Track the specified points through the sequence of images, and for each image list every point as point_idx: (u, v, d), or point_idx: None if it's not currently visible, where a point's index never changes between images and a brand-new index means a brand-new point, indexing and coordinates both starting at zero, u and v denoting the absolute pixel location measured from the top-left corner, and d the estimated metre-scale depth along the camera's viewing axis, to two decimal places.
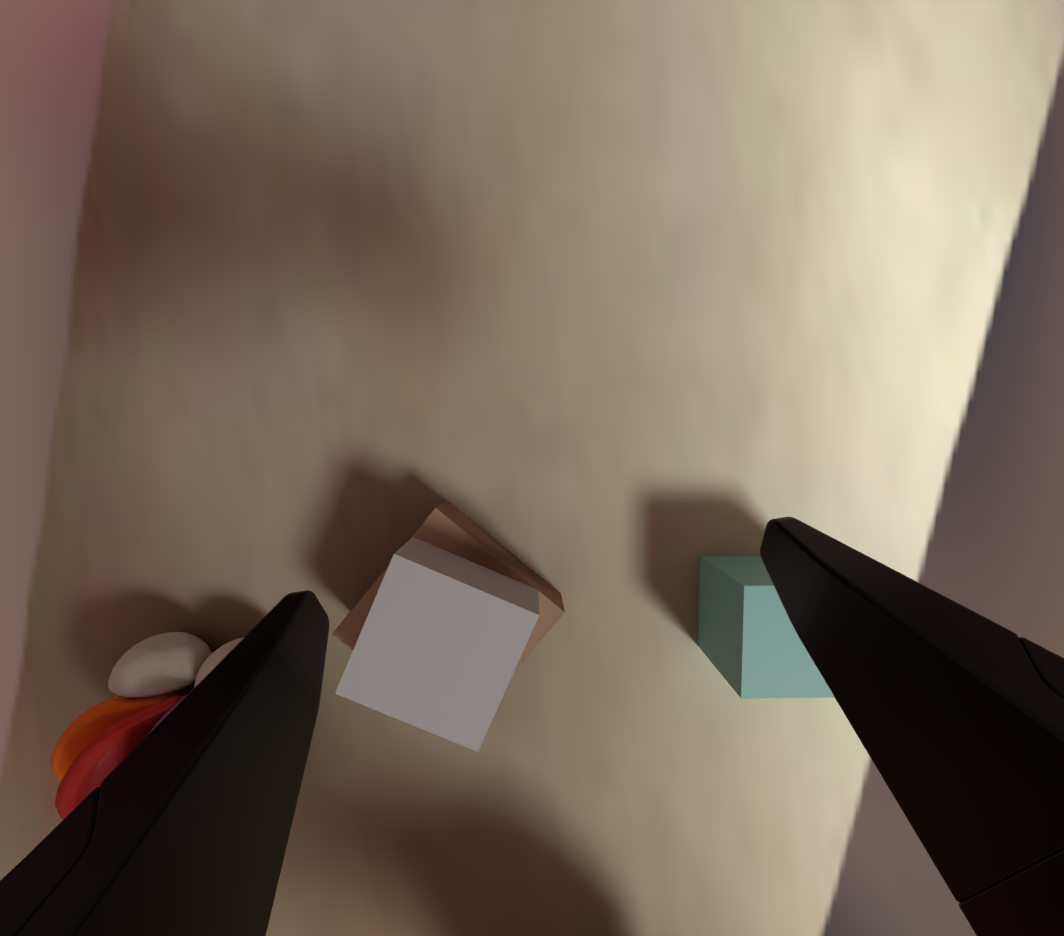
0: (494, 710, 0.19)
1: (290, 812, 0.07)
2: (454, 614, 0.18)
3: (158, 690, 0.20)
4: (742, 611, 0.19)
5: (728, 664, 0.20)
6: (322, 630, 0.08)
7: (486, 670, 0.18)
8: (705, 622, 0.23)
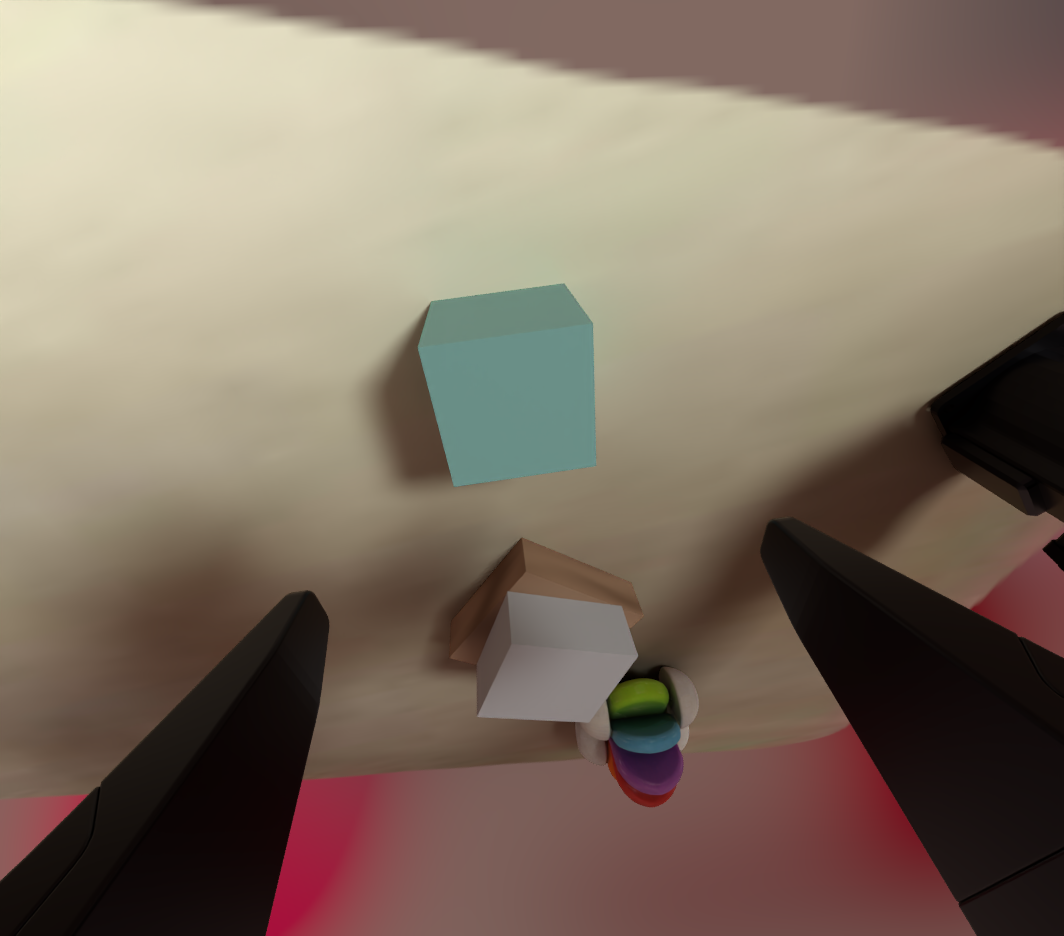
0: (601, 653, 0.21)
1: (290, 812, 0.07)
2: (519, 685, 0.22)
3: (603, 750, 0.32)
4: (487, 480, 0.15)
5: None
6: (322, 630, 0.08)
7: (565, 663, 0.21)
8: None
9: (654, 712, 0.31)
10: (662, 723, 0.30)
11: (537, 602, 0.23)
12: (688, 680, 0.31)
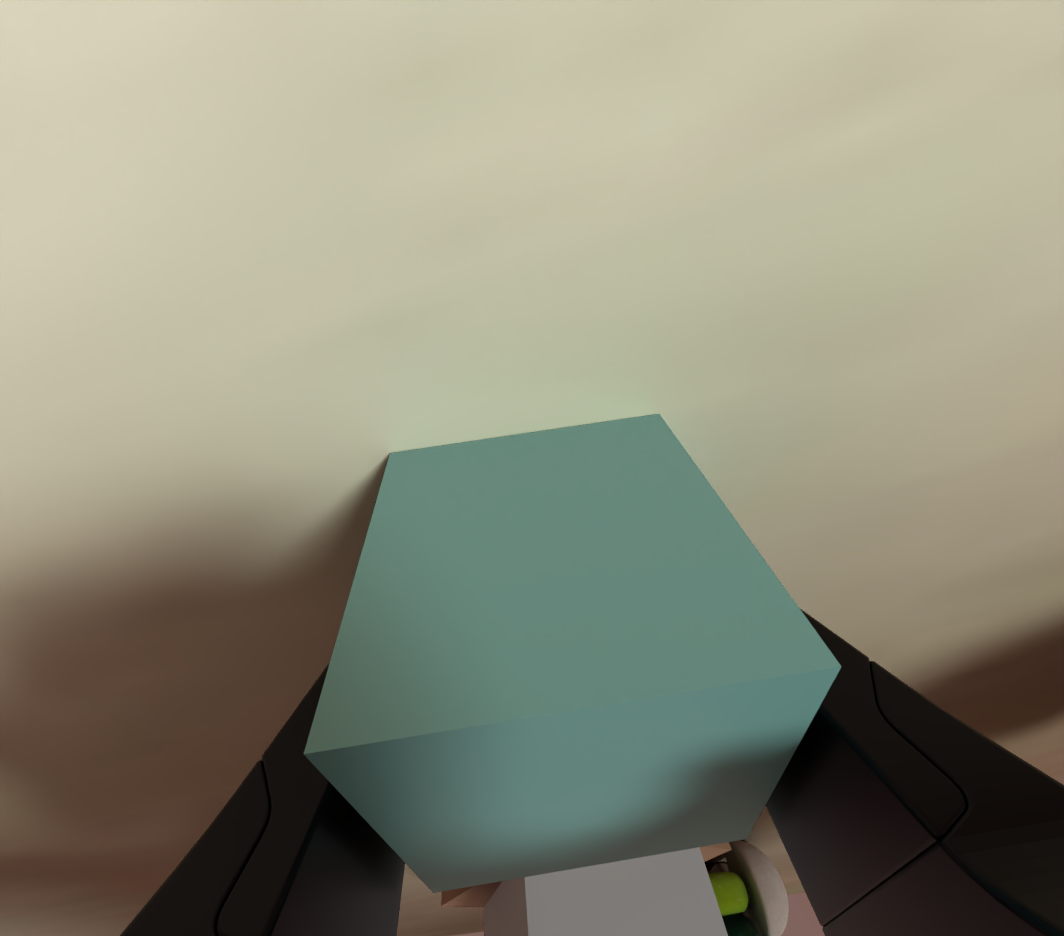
0: None
1: None
2: None
3: None
4: (507, 874, 0.07)
5: None
6: None
7: None
8: None
9: (726, 914, 0.23)
10: None
11: (570, 869, 0.14)
12: (773, 871, 0.23)
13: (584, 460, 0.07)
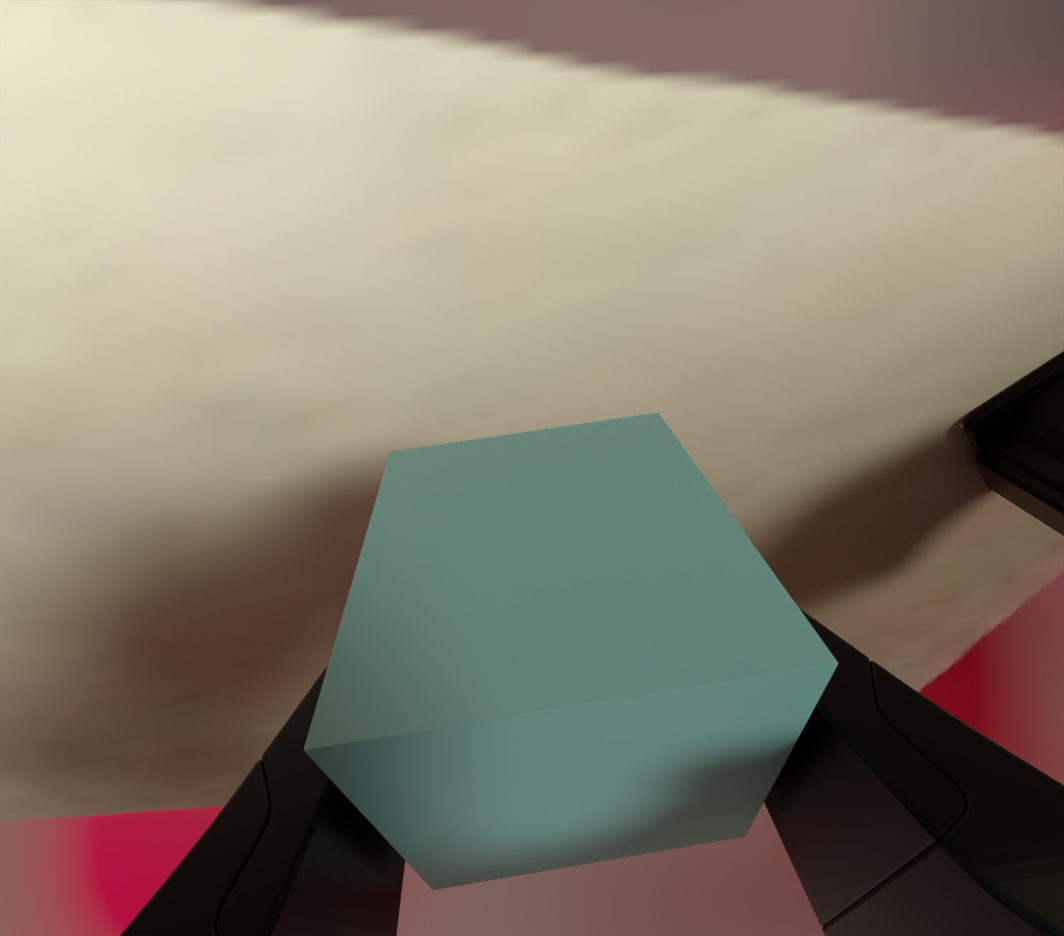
0: None
1: None
2: None
3: None
4: (507, 870, 0.07)
5: None
6: None
7: None
8: None
9: None
10: None
11: None
12: None
13: (583, 459, 0.07)
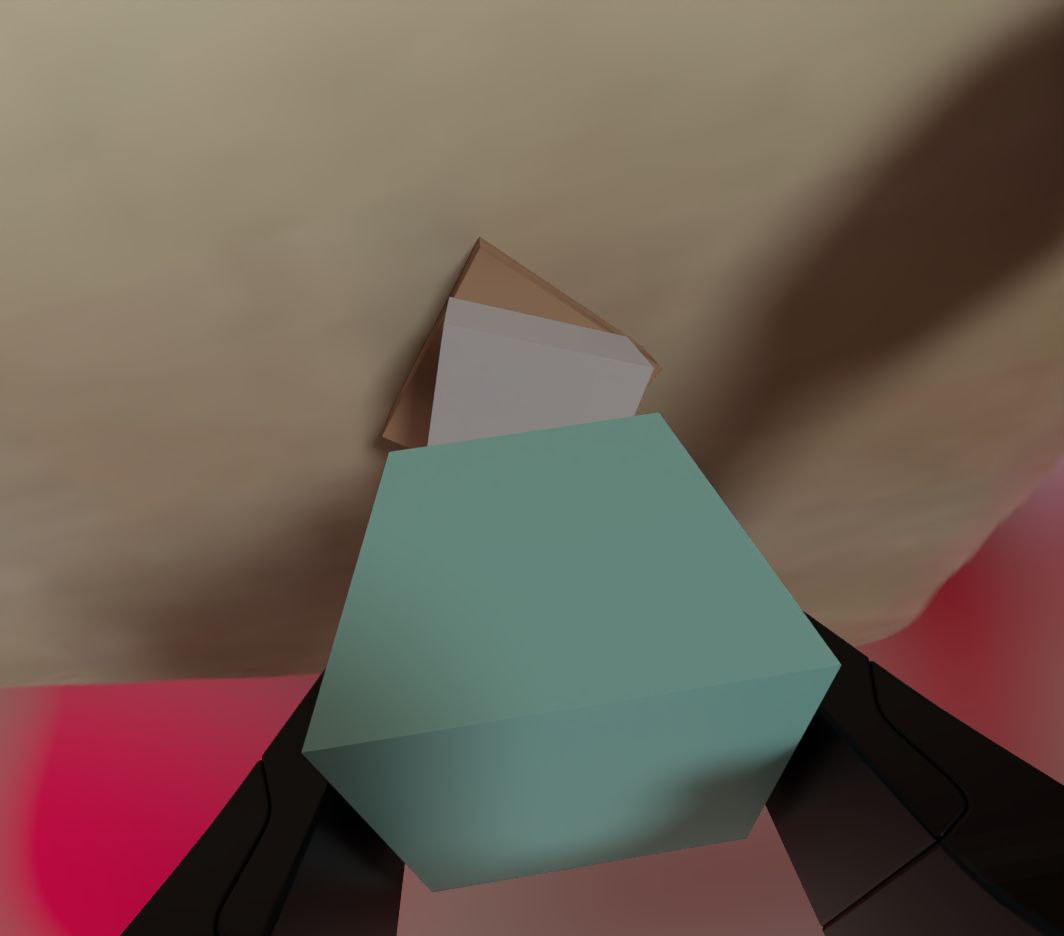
0: (594, 358, 0.13)
1: None
2: (472, 431, 0.14)
3: None
4: (506, 873, 0.07)
5: None
6: None
7: (539, 379, 0.14)
8: None
9: None
10: None
11: (495, 310, 0.15)
12: None
13: (583, 459, 0.07)
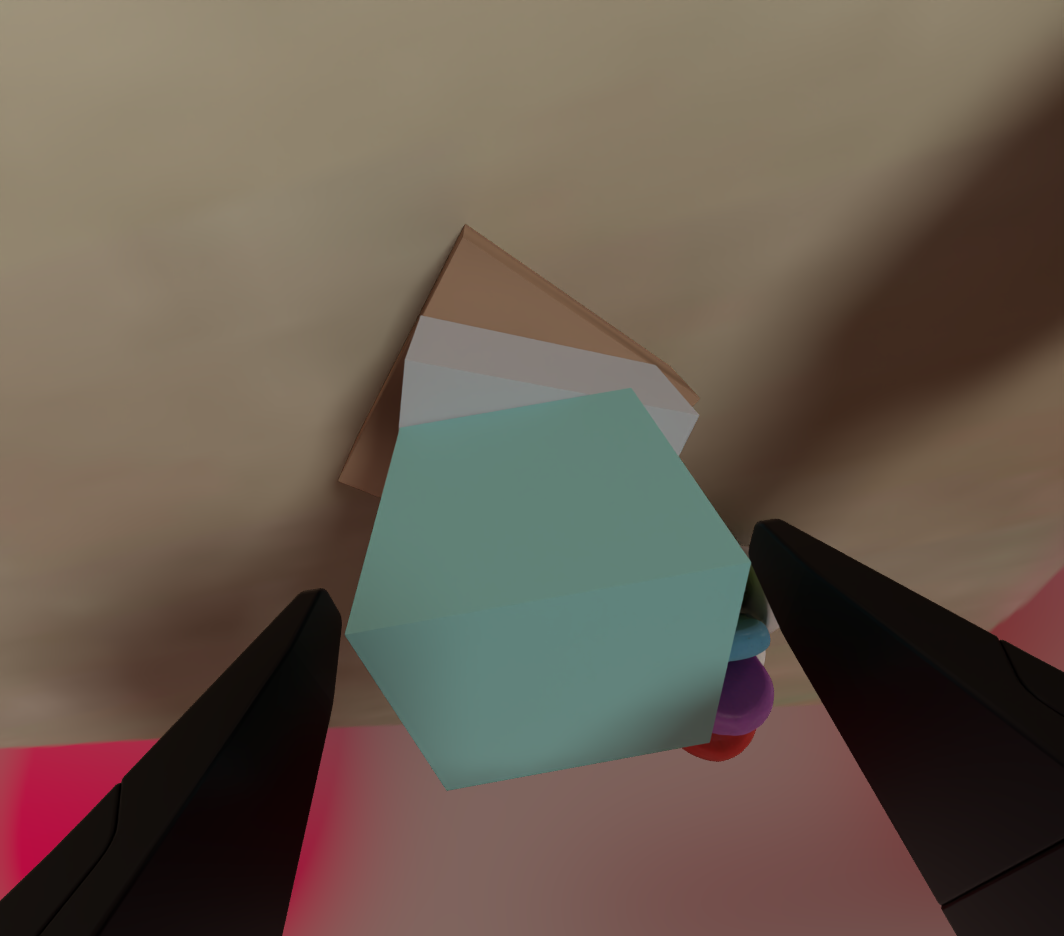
0: None
1: (306, 809, 0.07)
2: None
3: None
4: (508, 775, 0.08)
5: None
6: (335, 628, 0.09)
7: None
8: None
9: None
10: None
11: (482, 334, 0.11)
12: None
13: (564, 426, 0.09)
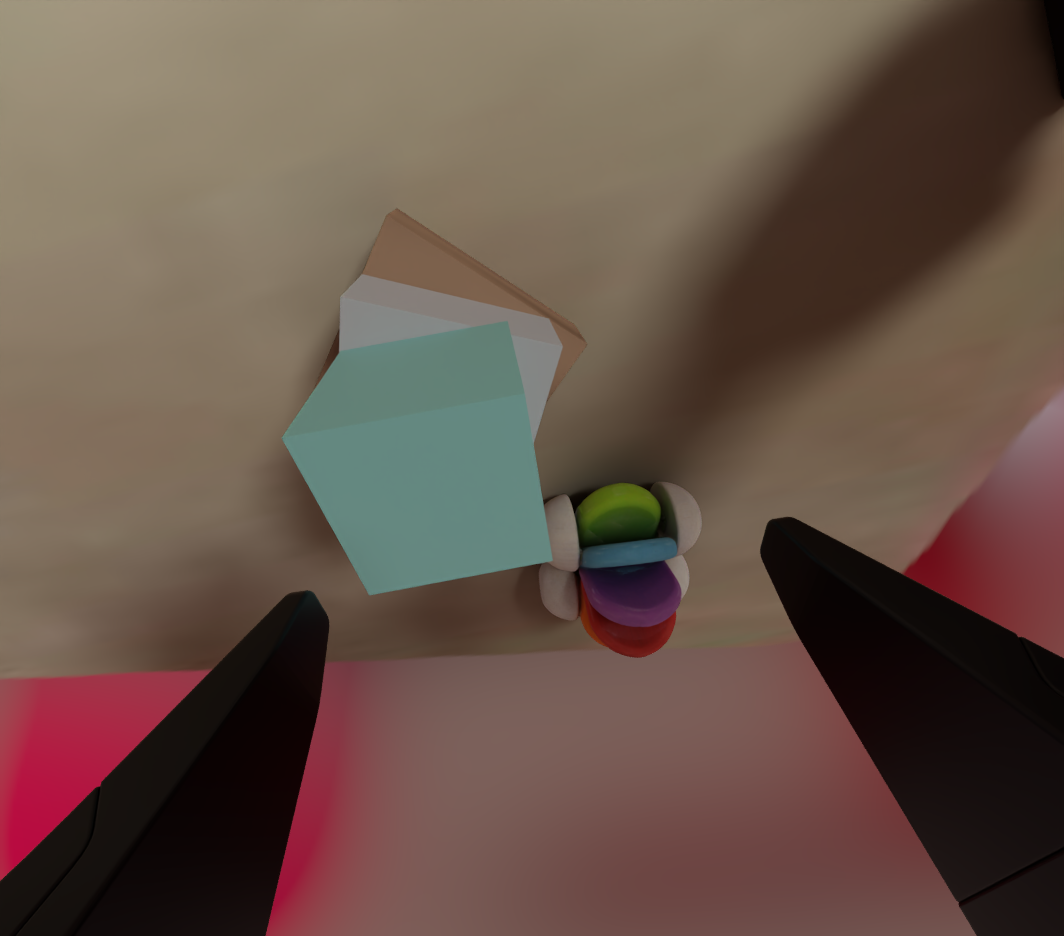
0: None
1: (290, 812, 0.07)
2: None
3: (573, 594, 0.23)
4: (412, 584, 0.12)
5: None
6: (322, 630, 0.08)
7: None
8: None
9: (641, 536, 0.23)
10: None
11: (408, 288, 0.15)
12: None
13: (451, 343, 0.12)
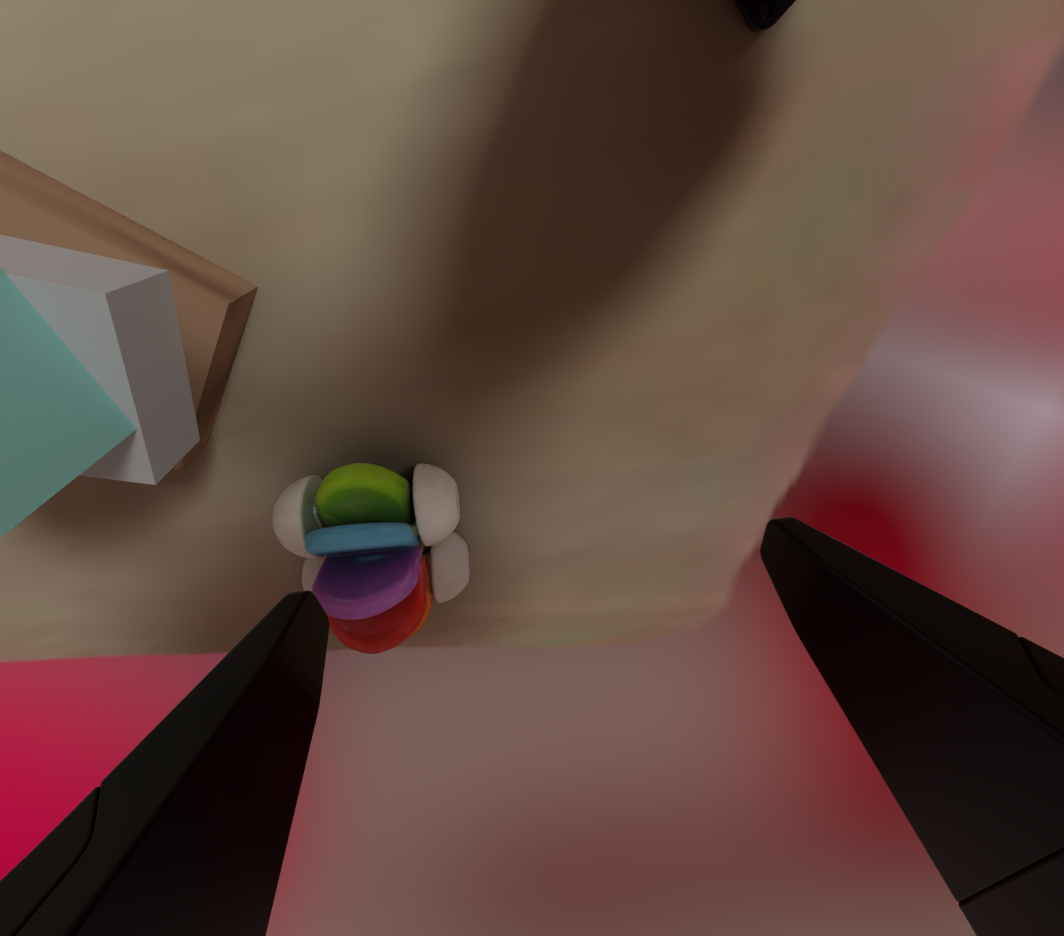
0: (16, 278, 0.11)
1: (290, 812, 0.07)
2: None
3: None
4: None
5: None
6: (322, 630, 0.08)
7: None
8: None
9: (392, 522, 0.21)
10: None
11: None
12: (443, 474, 0.21)
13: None
